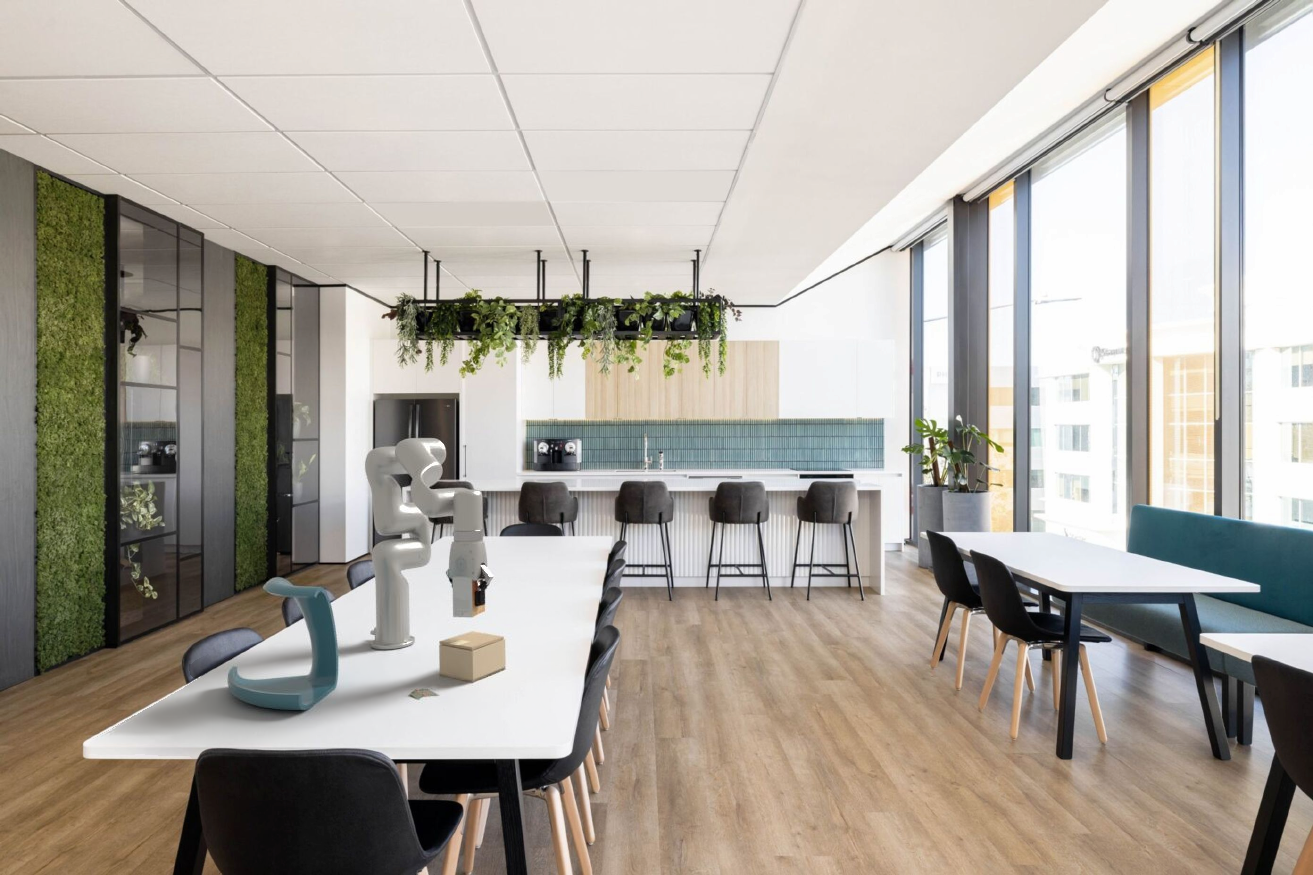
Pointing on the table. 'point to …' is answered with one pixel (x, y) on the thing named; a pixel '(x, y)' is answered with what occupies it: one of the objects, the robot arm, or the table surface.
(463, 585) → the small box
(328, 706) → the table surface
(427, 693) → the map
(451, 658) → the carton
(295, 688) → the headphone stand
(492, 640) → the lid
